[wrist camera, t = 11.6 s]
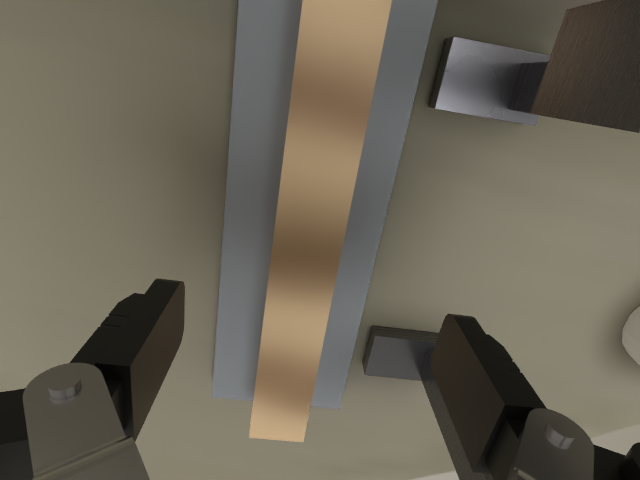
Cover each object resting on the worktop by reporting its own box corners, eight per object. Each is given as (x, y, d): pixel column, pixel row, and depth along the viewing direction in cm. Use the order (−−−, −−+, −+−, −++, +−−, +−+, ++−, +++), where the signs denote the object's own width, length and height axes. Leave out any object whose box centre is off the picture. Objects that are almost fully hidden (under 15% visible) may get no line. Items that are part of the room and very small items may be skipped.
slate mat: (249, -70, 16) (244, -84, 14) (436, -31, 17) (447, -41, 15) (216, 379, 25) (211, 397, 24) (337, 391, 26) (339, 409, 24)
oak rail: (311, -53, 15) (312, -81, 12) (386, -37, 15) (404, -62, 12) (255, 395, 24) (248, 437, 21) (303, 400, 24) (303, 442, 21)
